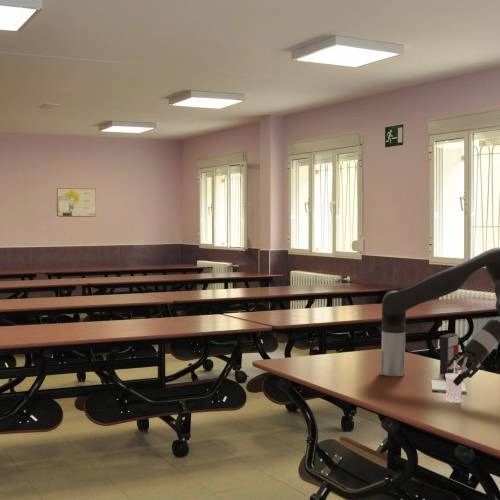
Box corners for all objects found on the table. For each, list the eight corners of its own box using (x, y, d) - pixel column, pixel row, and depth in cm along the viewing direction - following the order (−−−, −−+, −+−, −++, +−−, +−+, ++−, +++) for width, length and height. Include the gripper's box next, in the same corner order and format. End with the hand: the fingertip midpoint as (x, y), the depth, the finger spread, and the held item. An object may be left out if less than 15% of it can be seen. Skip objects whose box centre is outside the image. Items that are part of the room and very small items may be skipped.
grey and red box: (448, 374, 291) (449, 337, 290) (438, 373, 294) (439, 336, 293) (458, 370, 300) (459, 334, 299) (448, 368, 303) (449, 333, 302)
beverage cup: (462, 404, 245) (463, 363, 245) (443, 402, 247) (444, 361, 247) (463, 399, 251) (464, 359, 250) (445, 398, 253) (446, 358, 252)
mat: (432, 391, 262) (432, 389, 262) (431, 380, 280) (431, 378, 280) (466, 393, 260) (466, 391, 260) (463, 382, 277) (463, 380, 277)
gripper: (499, 357, 245) (468, 394, 242) (475, 349, 259) (444, 384, 256) (486, 342, 243) (454, 379, 241) (462, 335, 257) (431, 370, 254)
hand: (449, 381), depth 248 cm, fingers closed on beverage cup, 6 cm apart
